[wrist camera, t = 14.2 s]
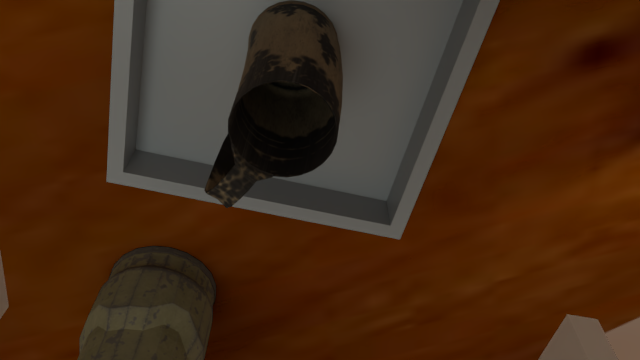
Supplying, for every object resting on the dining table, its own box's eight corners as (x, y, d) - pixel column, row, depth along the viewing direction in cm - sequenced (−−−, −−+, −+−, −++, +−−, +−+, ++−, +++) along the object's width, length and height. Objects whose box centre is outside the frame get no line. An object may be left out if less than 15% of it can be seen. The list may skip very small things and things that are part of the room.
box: (505, -72, 31) (524, -60, 28) (394, 209, 42) (399, 239, 39) (142, -173, 29) (122, -172, 26) (122, 154, 39) (106, 181, 36)
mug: (292, -23, 32) (278, 51, 22) (359, 42, 34) (374, 137, 24) (208, 72, 35) (162, 174, 25) (274, 125, 37) (256, 240, 27)
